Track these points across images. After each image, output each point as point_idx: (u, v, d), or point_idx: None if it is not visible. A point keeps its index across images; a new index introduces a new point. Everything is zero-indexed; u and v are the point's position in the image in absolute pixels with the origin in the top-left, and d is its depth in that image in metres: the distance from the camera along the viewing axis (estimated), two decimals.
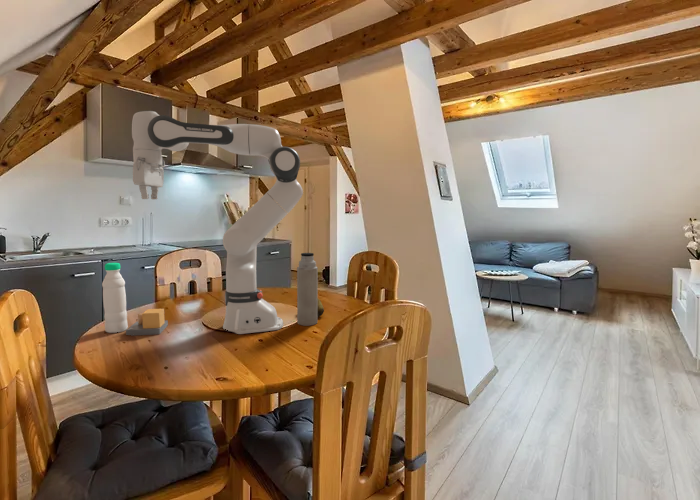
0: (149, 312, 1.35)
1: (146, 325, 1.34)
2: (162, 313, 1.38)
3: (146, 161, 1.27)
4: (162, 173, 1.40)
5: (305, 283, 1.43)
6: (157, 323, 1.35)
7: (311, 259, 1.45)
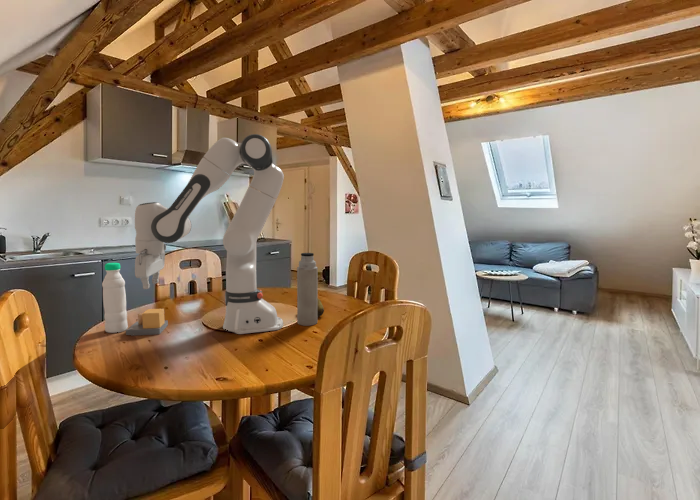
0: (149, 312, 1.35)
1: (146, 325, 1.34)
2: (162, 313, 1.38)
3: (148, 252, 1.30)
4: (163, 256, 1.43)
5: (305, 283, 1.43)
6: (157, 323, 1.35)
7: (311, 259, 1.45)
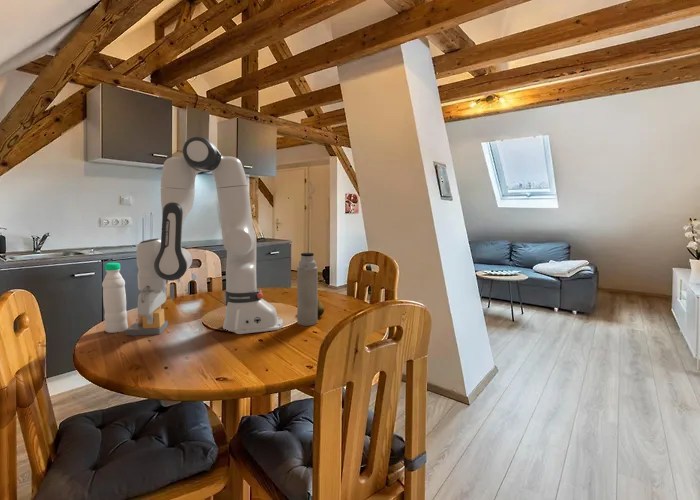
0: None
1: (146, 325, 1.34)
2: (162, 313, 1.38)
3: (150, 289, 1.31)
4: (165, 289, 1.44)
5: (305, 283, 1.43)
6: (157, 323, 1.35)
7: (311, 259, 1.45)
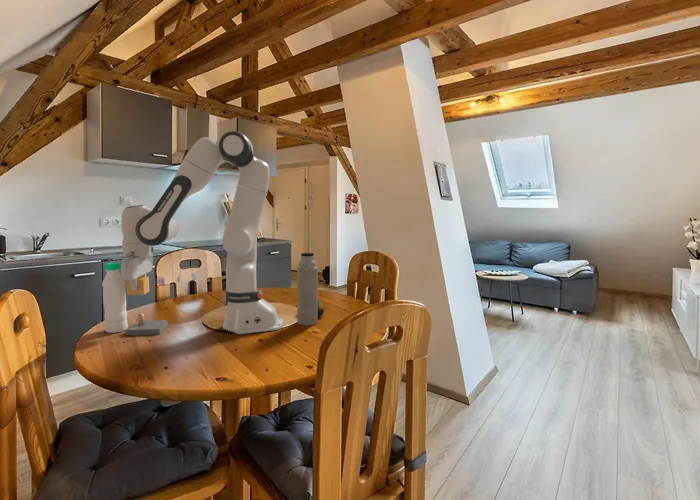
0: None
1: (130, 292, 1.33)
2: (147, 281, 1.37)
3: (135, 255, 1.31)
4: (151, 258, 1.44)
5: (305, 283, 1.43)
6: (141, 290, 1.34)
7: (311, 259, 1.45)
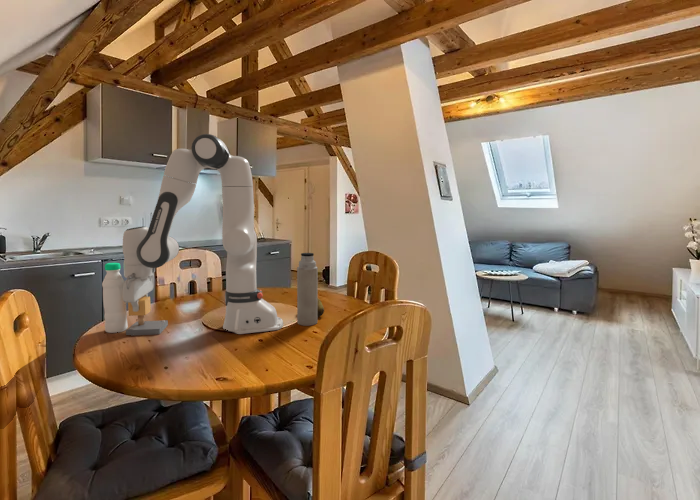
0: None
1: (132, 312, 1.34)
2: (148, 301, 1.38)
3: (136, 276, 1.32)
4: (152, 277, 1.45)
5: (305, 283, 1.43)
6: (143, 311, 1.35)
7: (311, 259, 1.45)
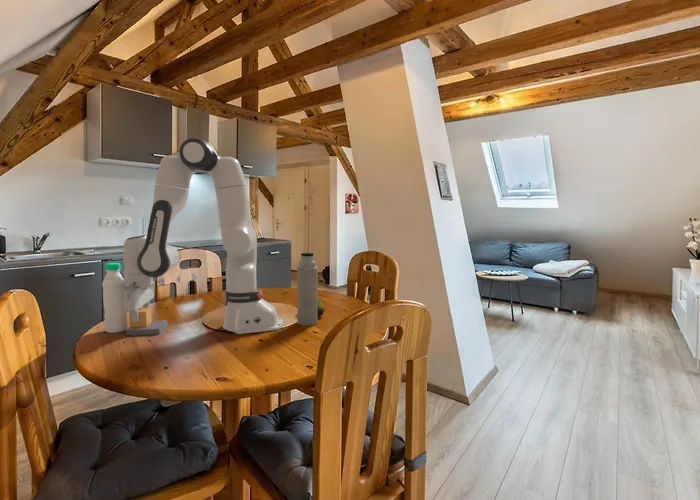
0: None
1: (133, 324, 1.35)
2: (149, 312, 1.39)
3: (137, 285, 1.32)
4: (153, 286, 1.45)
5: (305, 283, 1.43)
6: (144, 322, 1.36)
7: (311, 259, 1.45)
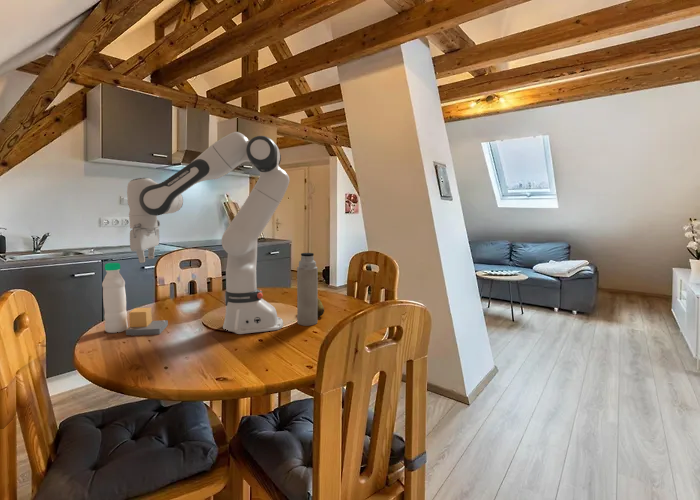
0: (136, 311, 1.36)
1: (133, 324, 1.35)
2: (149, 312, 1.39)
3: (142, 226, 1.33)
4: (158, 232, 1.46)
5: (305, 283, 1.43)
6: (144, 322, 1.36)
7: (311, 259, 1.45)
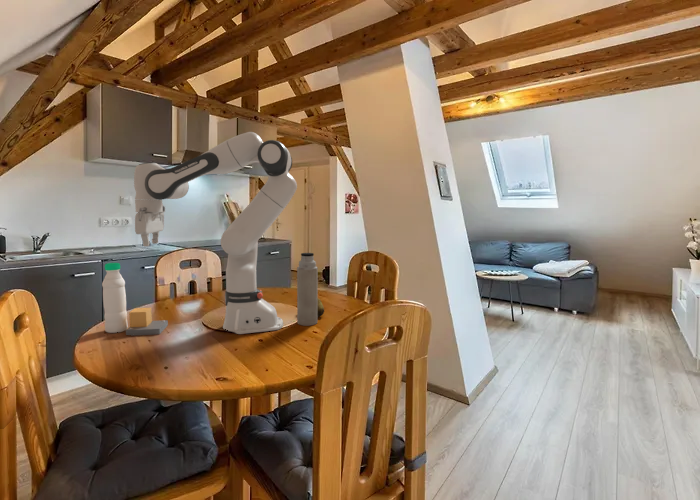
0: (136, 311, 1.36)
1: (133, 324, 1.35)
2: (149, 312, 1.39)
3: (147, 210, 1.34)
4: (162, 218, 1.47)
5: (305, 283, 1.43)
6: (144, 322, 1.36)
7: (311, 259, 1.45)
